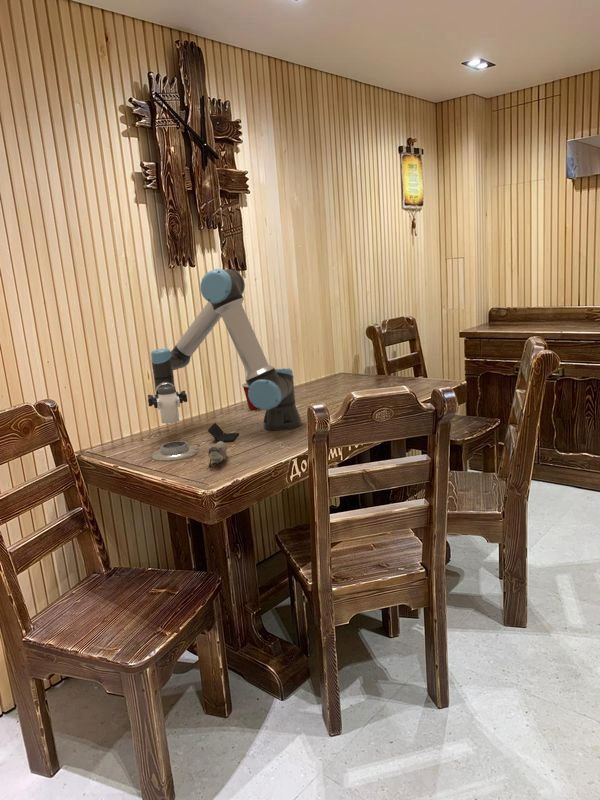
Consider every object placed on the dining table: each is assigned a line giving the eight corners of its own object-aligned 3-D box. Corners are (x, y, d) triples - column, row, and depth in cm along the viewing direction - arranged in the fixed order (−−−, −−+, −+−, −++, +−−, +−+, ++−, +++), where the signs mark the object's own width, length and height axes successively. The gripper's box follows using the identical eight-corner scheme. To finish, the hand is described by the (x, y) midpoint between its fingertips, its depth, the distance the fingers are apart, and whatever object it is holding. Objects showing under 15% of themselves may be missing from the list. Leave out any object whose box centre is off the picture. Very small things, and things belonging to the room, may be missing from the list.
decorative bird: (231, 455, 203) (229, 434, 202) (223, 470, 188) (220, 447, 186) (215, 456, 204) (213, 435, 202) (205, 471, 188) (203, 449, 186)
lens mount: (207, 448, 214) (206, 439, 213) (180, 462, 200) (178, 452, 199) (171, 446, 221) (169, 437, 220) (142, 459, 207) (141, 450, 206)
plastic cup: (264, 411, 269) (262, 385, 266) (241, 412, 271) (238, 386, 269) (270, 406, 279) (268, 380, 277) (248, 407, 282) (245, 381, 279)
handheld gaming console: (238, 437, 220) (219, 417, 220) (224, 450, 220) (205, 431, 220) (240, 434, 232) (222, 415, 231) (227, 447, 232) (209, 428, 231)
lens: (182, 419, 210) (178, 385, 208) (172, 423, 204) (168, 389, 202) (168, 419, 212) (164, 385, 210) (158, 423, 207) (153, 389, 205)
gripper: (192, 400, 227) (198, 411, 205) (141, 406, 223) (141, 418, 201) (190, 380, 226) (195, 390, 204) (138, 386, 221) (138, 396, 199)
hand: (168, 404), depth 202 cm, fingers closed on lens, 6 cm apart
